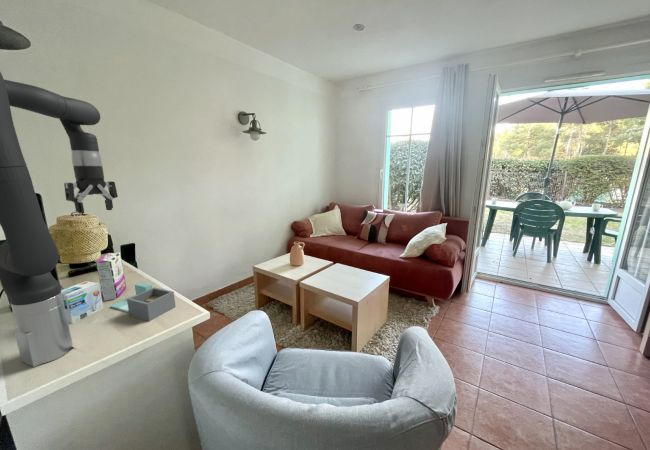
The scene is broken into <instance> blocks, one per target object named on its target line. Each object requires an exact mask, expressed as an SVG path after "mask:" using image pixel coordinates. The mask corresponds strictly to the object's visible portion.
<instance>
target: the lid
mask: <svg viewBox="0 0 650 450" xmlns="http://www.w3.org/2000/svg"><path fill="white" fill-rule="evenodd" d="M151 288H153V284H150V283H146V282H139V283H136V284H134V289H135V294H134V295H132V296H129V297H128V298H130V297H133V296H135V295H137V294H140V293H142V292H144V291H147V290H149V289H151ZM128 298H125V299H122V300H120V301H117V302H115V303H113V304H111V305H110V308H111V309H115V310H118V311H122V312H125V313H129V309H128V303H127V299H128Z"/></svg>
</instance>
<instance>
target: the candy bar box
mask: <svg viewBox="0 0 650 450" xmlns="http://www.w3.org/2000/svg"><path fill="white" fill-rule="evenodd" d="M95 266H96V269H97V274H98V279H99V285H100V291H101V296H102V301H104V302H105V301H106V302H107V301H113V300H117V299H118V298H120V296H122V294H123V293H124V291H125V290H126V289H127V284H126V278H125V274H124V273H125V272H124V267H123V262H122V255H121V252H112V253H110V252H109V253H106V254H105V255H103V256H102V257H101V258H100V259H98V260H97V261H96V262H95Z"/></svg>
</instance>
